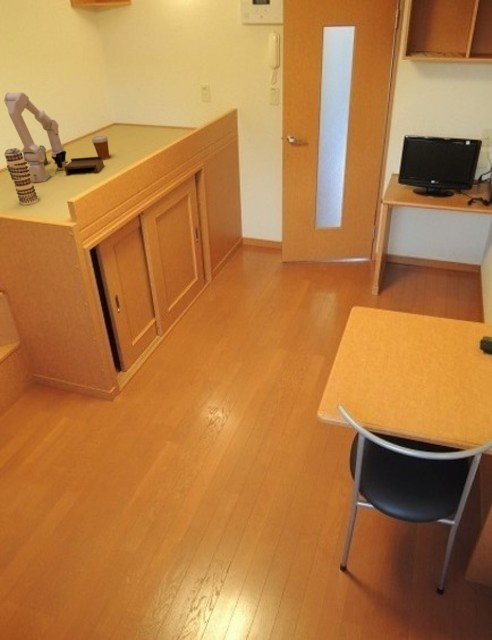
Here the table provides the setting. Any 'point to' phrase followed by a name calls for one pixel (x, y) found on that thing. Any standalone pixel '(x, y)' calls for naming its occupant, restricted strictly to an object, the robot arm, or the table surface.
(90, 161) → the shelf
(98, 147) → the disposable coffee cup
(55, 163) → the pot
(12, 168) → the leaning tower model
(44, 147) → the food container
